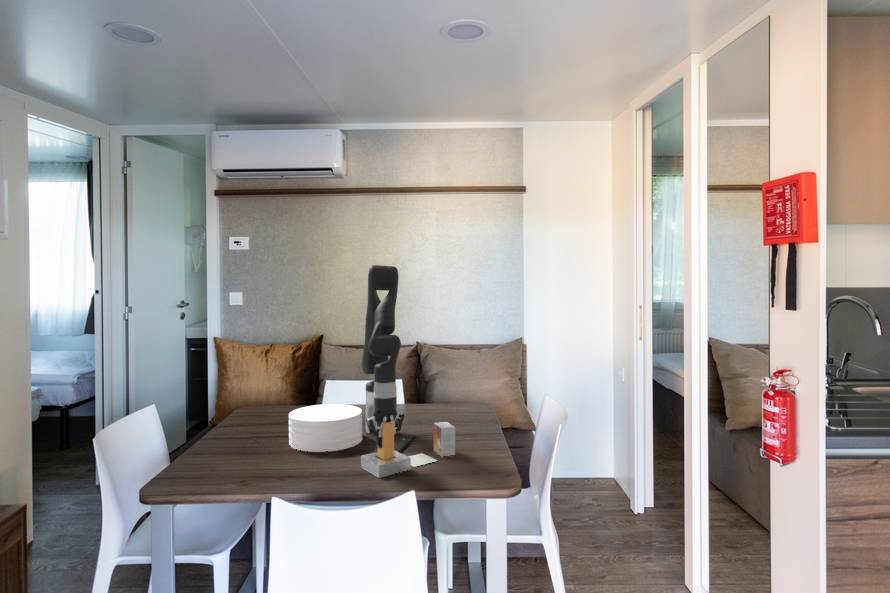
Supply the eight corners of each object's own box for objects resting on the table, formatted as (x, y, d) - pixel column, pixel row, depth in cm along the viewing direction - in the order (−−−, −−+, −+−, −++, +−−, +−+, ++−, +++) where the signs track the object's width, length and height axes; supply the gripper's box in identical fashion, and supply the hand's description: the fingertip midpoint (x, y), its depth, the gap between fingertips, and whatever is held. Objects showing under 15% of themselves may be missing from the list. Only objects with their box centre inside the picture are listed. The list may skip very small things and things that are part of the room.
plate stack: (346, 454, 196) (346, 423, 195) (275, 450, 201) (274, 419, 201) (371, 433, 223) (371, 405, 223) (308, 429, 229) (308, 402, 228)
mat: (398, 459, 189) (398, 458, 189) (422, 454, 195) (422, 453, 195) (414, 467, 181) (414, 466, 181) (438, 461, 187) (438, 460, 187)
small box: (433, 451, 198) (433, 422, 198) (447, 449, 200) (447, 421, 200) (440, 457, 191) (440, 428, 191) (455, 455, 193) (455, 426, 193)
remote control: (416, 438, 216) (416, 435, 215) (396, 458, 192) (396, 454, 192) (403, 438, 217) (403, 434, 217) (382, 457, 194) (382, 453, 194)
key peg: (377, 456, 180) (377, 421, 180) (388, 454, 183) (387, 419, 182) (383, 460, 177) (383, 423, 177) (394, 457, 179) (393, 421, 179)
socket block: (361, 467, 181) (360, 455, 181) (391, 460, 188) (391, 448, 188) (378, 477, 172) (378, 465, 171) (410, 469, 179) (410, 457, 179)
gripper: (397, 390, 186) (397, 440, 187) (360, 395, 178) (361, 447, 178) (409, 394, 180) (409, 445, 181) (371, 399, 172) (372, 453, 172)
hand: (385, 446), depth 180 cm, fingers closed on key peg, 4 cm apart
